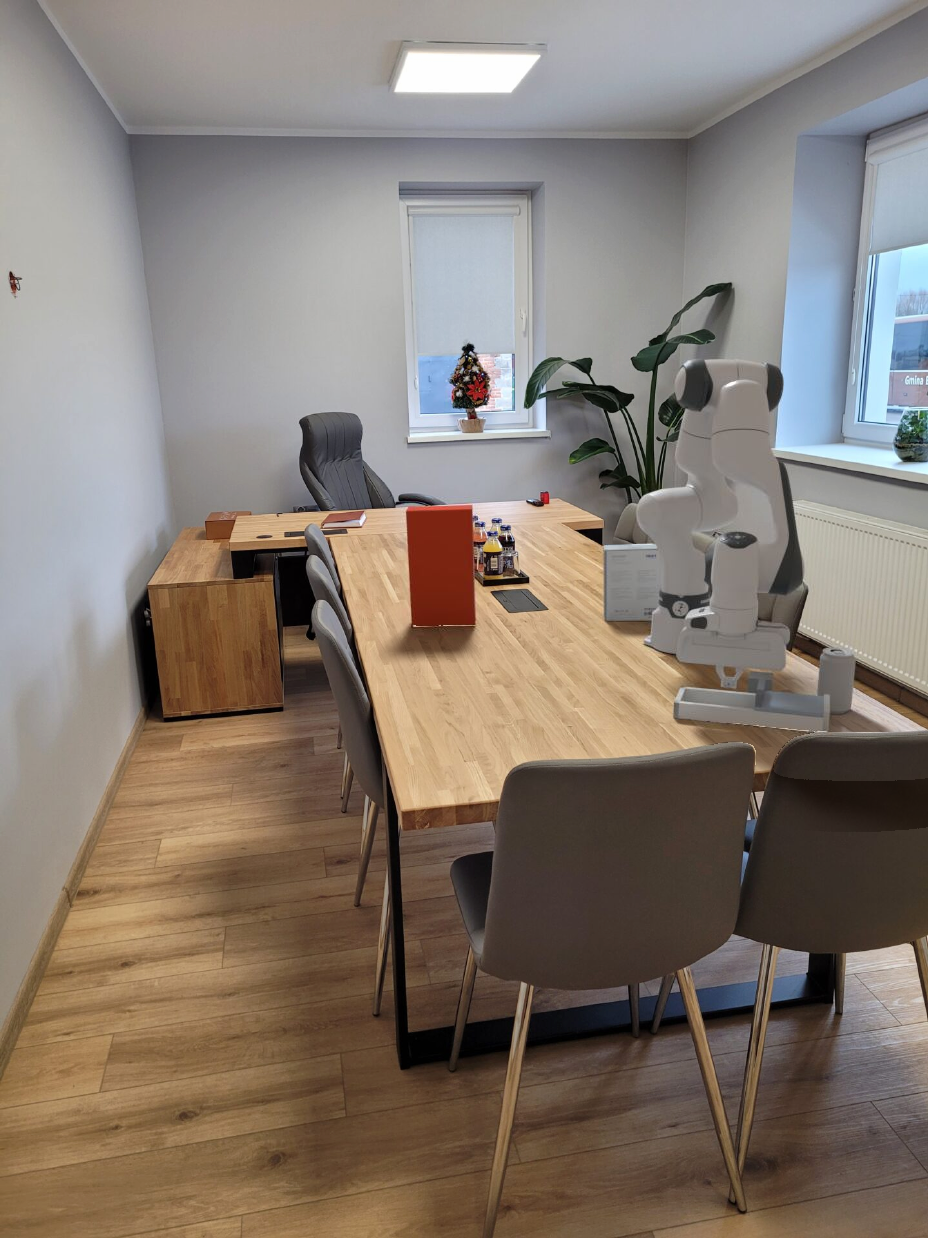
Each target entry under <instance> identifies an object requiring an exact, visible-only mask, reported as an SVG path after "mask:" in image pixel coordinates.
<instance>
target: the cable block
mask: <svg viewBox="0 0 928 1238" xmlns="http://www.w3.org/2000/svg"><path fill="white" fill-rule="evenodd" d="M773 678H774V672H765V671H764V672H763V671H754V670H749V674H748V677H747V691H746V693H755V694H756V691H757V686H758V682H759V679H766V681H765V691H773Z"/></svg>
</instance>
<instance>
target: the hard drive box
mask: <svg viewBox="0 0 928 1238" xmlns="http://www.w3.org/2000/svg"><path fill="white" fill-rule="evenodd" d="M602 552H603V554H602V555H603V559H602V560H603V561H602V562H603V566H602V567H603V571H602V572H603V618H604V621H605V622H624V621H625V622H627V621H628V622H629V621H631V622H633V621H636V622H637V621H639V622H640V621H641V622H643V621H645V622H647V621H648V622H652V613H653V612H654V611H655V610H656V609H657V608H658V607H659V598H658V596H659V590H660V589H661V559H660V554H659V551H658V548H657V546H656V544H655V543H636V544H635V543H632V544H631V543H630V544H627V543H626V544H608V545H607V544H605V545H603V551H602Z"/></svg>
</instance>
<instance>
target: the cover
mask: <svg viewBox="0 0 928 1238" xmlns="http://www.w3.org/2000/svg"><path fill="white" fill-rule="evenodd" d="M765 681H766V679H759V682H758V686H757V691H756V698H755V710H757V711H767V712H777V713H787V714H796V715H806V716H816V717H824V696H817V694H805V693H795V692H794V693H793V692H786V691H785V692H784V691H773V690H772V691H765Z"/></svg>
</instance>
